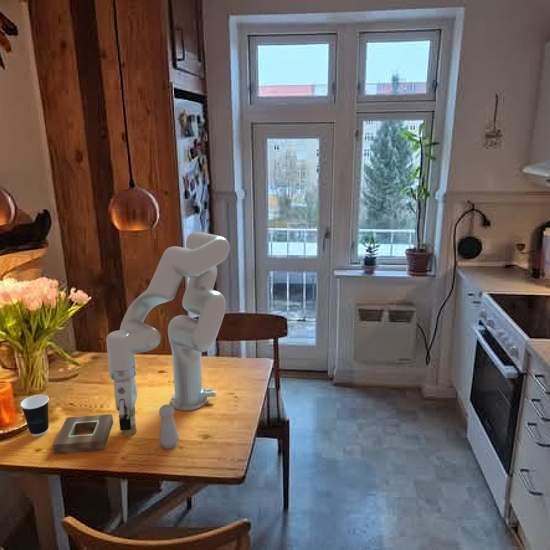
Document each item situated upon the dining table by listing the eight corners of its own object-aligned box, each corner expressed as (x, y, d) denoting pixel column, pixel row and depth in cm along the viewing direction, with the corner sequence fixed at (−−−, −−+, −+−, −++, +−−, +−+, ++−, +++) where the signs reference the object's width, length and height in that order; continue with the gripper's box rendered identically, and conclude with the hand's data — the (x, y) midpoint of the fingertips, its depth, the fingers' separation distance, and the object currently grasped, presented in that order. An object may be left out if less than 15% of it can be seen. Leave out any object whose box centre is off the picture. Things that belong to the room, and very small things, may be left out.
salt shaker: (170, 436, 147) (168, 399, 144) (183, 443, 144) (180, 406, 140) (155, 445, 143) (152, 407, 139) (167, 453, 139) (164, 414, 136)
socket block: (113, 422, 154) (112, 413, 153) (104, 450, 141) (102, 440, 140) (68, 426, 153) (66, 417, 152) (54, 454, 139) (53, 444, 138)
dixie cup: (36, 442, 145) (31, 410, 141) (20, 435, 148) (14, 403, 145) (58, 428, 151) (54, 398, 148) (42, 422, 155) (37, 392, 152)
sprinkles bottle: (138, 433, 149) (135, 395, 145) (124, 438, 146) (119, 400, 143) (134, 426, 152) (130, 389, 149) (119, 431, 150) (115, 393, 146)
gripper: (131, 384, 135) (136, 438, 140) (139, 357, 152) (144, 406, 157) (103, 386, 135) (109, 440, 140) (115, 358, 151) (120, 407, 156)
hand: (127, 421), depth 148 cm, fingers open, 7 cm apart
